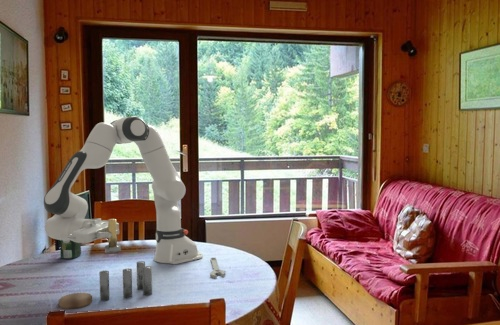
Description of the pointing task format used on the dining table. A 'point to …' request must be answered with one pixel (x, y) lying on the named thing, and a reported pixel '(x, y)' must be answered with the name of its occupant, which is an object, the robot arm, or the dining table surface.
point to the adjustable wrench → (216, 269)
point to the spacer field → (128, 281)
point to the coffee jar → (70, 249)
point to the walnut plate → (75, 300)
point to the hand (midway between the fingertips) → (114, 233)
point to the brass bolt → (112, 238)
